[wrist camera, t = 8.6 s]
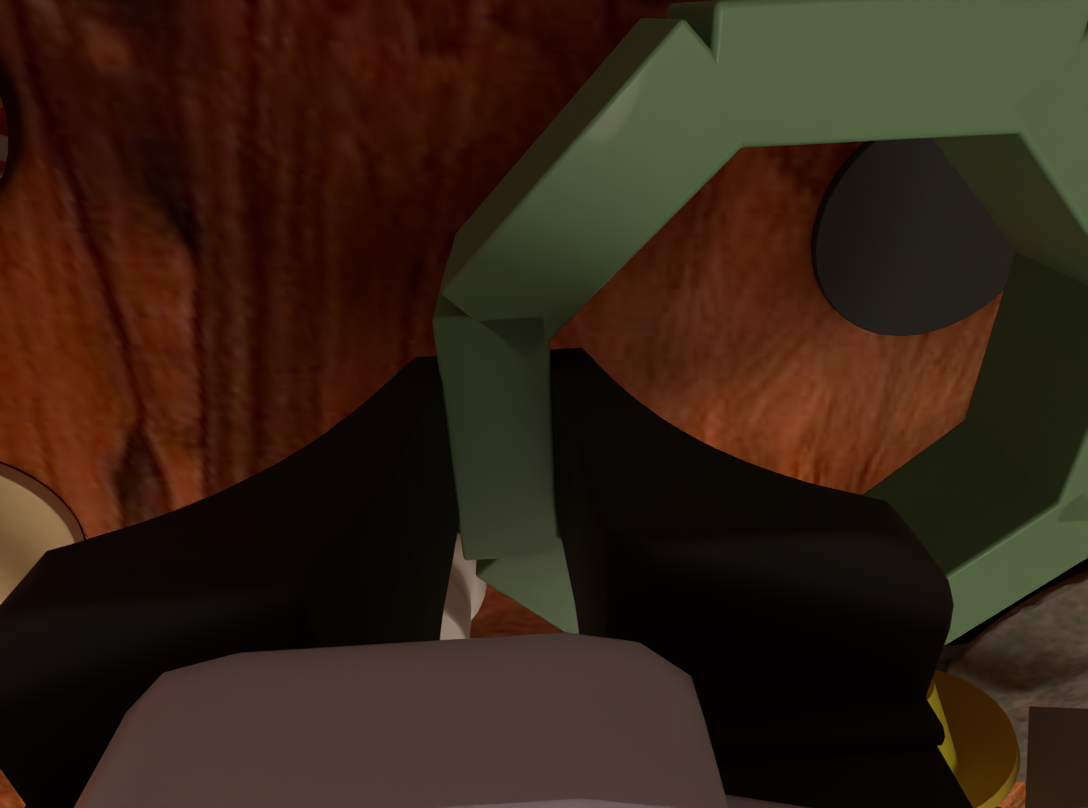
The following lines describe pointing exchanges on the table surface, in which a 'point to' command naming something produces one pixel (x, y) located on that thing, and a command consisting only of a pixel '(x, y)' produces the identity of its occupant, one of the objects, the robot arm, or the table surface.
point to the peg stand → (29, 526)
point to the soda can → (3, 138)
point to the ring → (777, 120)
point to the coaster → (906, 241)
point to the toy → (1010, 747)
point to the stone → (1033, 656)
